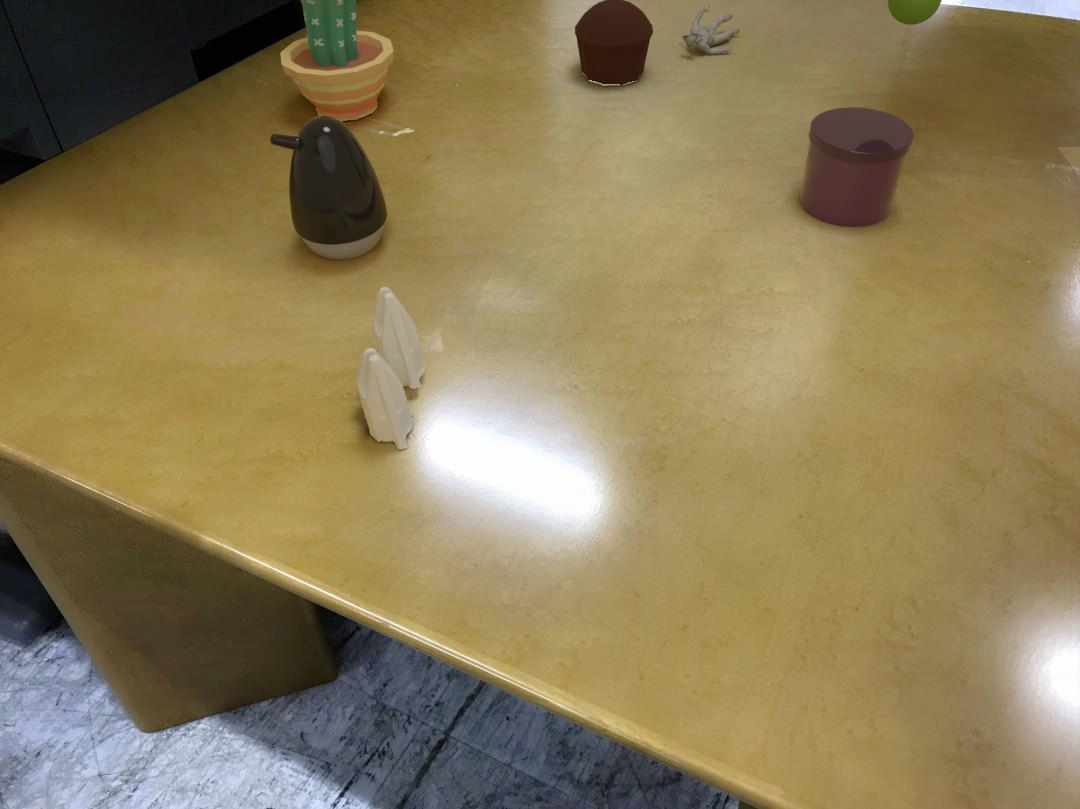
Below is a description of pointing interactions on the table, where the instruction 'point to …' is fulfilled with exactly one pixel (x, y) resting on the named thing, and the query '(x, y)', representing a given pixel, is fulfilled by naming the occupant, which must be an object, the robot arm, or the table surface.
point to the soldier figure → (709, 34)
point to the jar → (853, 165)
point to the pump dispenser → (333, 190)
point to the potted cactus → (337, 60)
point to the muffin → (613, 42)
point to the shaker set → (390, 371)
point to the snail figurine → (913, 10)
